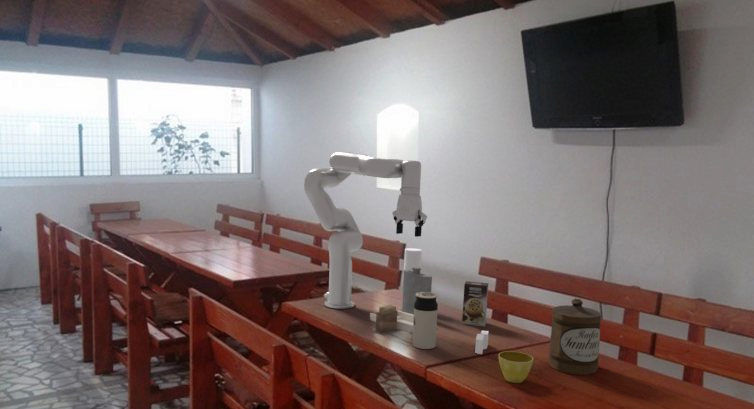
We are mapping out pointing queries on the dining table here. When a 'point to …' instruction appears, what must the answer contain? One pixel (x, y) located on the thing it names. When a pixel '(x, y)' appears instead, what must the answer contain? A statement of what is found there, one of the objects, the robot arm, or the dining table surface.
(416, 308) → the travel mug
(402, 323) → the rack
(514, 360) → the flower pot
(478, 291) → the coffee box
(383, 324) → the brown wooden block
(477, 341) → the napkin holder
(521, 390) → the dining table surface
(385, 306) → the offcut top
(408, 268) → the cylindrical container
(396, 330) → the mat
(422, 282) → the hip flask
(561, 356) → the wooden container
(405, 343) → the dining table surface
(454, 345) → the dining table surface
